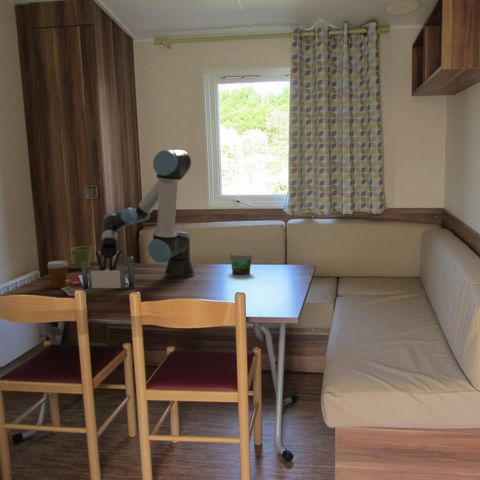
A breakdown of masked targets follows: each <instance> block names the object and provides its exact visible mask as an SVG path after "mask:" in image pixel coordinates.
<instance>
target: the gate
mask: <svg viewBox="0 0 480 480" xmlns="http://www.w3.org/2000/svg"><path fill="white" fill-rule="evenodd" d="M87 274H88V287H89V288H90V289H91V288H118V289H127V288H126V286H127V284H126V267H125V265H120V266H119V270H113V271H101V270H93V268H87Z"/></svg>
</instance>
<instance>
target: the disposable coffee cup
mask: <svg viewBox="0 0 480 480" xmlns="http://www.w3.org/2000/svg"><path fill="white" fill-rule="evenodd" d="M68 265H69V263H68V261H67V260H52V261H49V262H47V265H46V266H47V269H48V272H49V277H50V282H51V287H52V288H53V289H61V288H65V287H67V276H68V275H67V274H68V273H67V272H68Z"/></svg>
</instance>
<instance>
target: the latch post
mask: <svg viewBox="0 0 480 480" xmlns="http://www.w3.org/2000/svg"><path fill="white" fill-rule="evenodd" d="M126 263H127V265H126V266H127V278H128V279H127V281H128V283H127V284H128V285H127V289H135V288H136V287H137V285H136V278H135V275H136V274H135V258H134V257H133V256H131V255H130V256H128V257H127V259H126Z"/></svg>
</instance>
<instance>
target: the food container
mask: <svg viewBox="0 0 480 480" xmlns="http://www.w3.org/2000/svg"><path fill="white" fill-rule="evenodd" d="M229 259H230V263H231V272H232V274H233V275H235V276H236V275H237V276H245V275H250V273H251V262H252V259H253V256H252V255H251V254H249V255H242V254H239V255H232V253H230V254H229Z"/></svg>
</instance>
